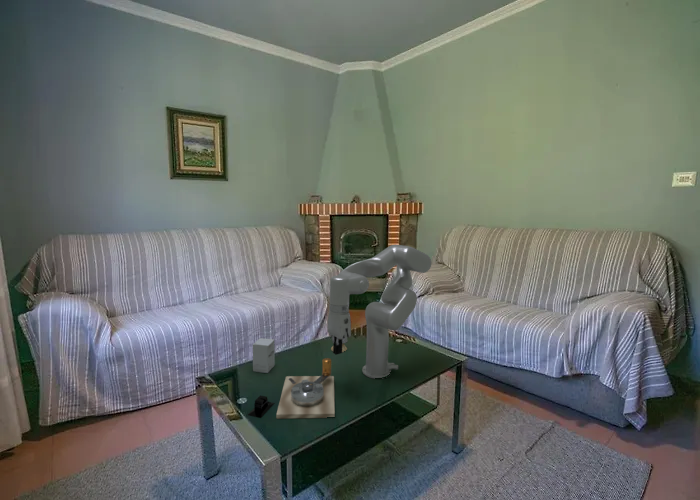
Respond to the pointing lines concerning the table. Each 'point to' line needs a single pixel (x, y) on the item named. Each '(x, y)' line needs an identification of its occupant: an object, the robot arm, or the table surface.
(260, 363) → the supplement box
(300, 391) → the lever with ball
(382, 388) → the table surface
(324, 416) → the birch board
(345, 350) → the hand bell
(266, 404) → the black stand with base
